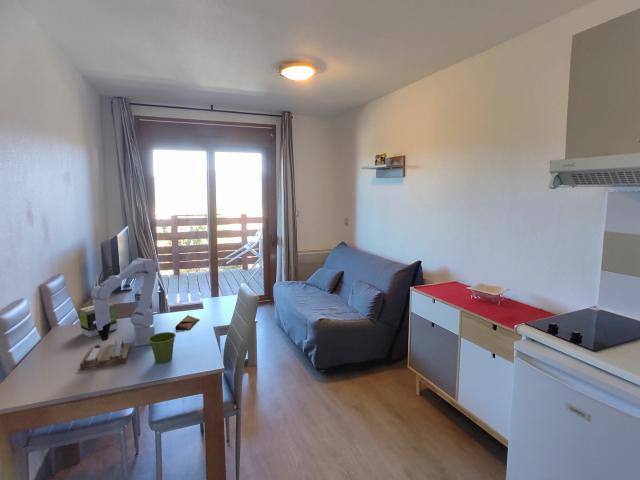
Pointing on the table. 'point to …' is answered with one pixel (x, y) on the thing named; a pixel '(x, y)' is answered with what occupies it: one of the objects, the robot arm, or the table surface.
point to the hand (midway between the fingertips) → (105, 339)
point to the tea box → (89, 317)
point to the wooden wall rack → (106, 356)
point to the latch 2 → (117, 346)
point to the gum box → (137, 298)
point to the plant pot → (162, 346)
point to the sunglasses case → (186, 323)
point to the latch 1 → (94, 354)
